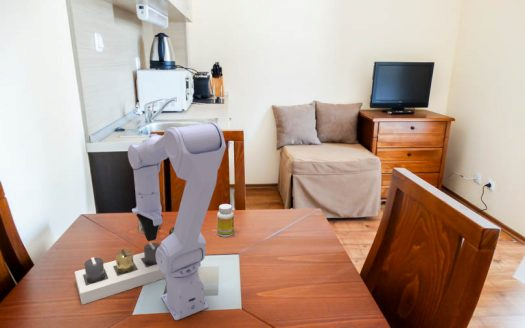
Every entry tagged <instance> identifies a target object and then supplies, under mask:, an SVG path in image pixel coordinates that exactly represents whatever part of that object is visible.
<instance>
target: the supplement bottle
mask: <svg viewBox="0 0 525 328" xmlns="http://www.w3.org/2000/svg"><path fill="white" fill-rule="evenodd" d="M232 210H233V206H232V205H231V204H228V203H222V204H220V205H219V206H218V212H217V214H216V229H217V230H216V231H217V232H216V233H217V235H218V236H220V237H223V238H226V237H227V238H228V237H231V236H233V234H234V232H235V231H234V229H235V226H234V225H235V224H234V223H235V219H234V218H235V214H234V211H232Z"/></svg>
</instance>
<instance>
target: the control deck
mask: <svg viewBox="0 0 525 328" xmlns="http://www.w3.org/2000/svg"><path fill="white" fill-rule="evenodd" d="M133 263H134V270H133V271H132V272H130V273H126V274H119V273H118V272H117V265H116V259H115V260H113V261H112V260H111V261H109V262H103V266H104V274H105V278H104V279H103V280H102V281H100V282H96V283H93V284H90V283H88V282H87V279H86V272H85V268H83V269H79V270H75V271H74V276H75V277H74V278H75V283H76V287H77V290H78V295H79V298H80V301H81V302H80V303H81V305H86V304H89V303H92V302H95V301H98V300H101V299H104V298H108V297H111V296H113V295H116V294H119V293H122V292H126V291H128V290H132V289H135V288H137V287H141V286H144V285H148V284H151V283H153V282H156V281H159V280H162V279H166V275H165V274H164V273H162V272H161V271H160V269H159V267H158V265H157V264H156V265H153V266H148V265H146V264H145V255H144V252H142V253H141V252H140V253H137V254H134V255H133Z"/></svg>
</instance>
